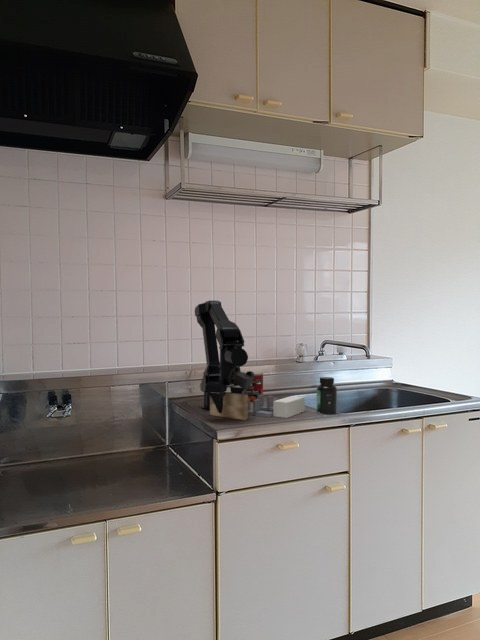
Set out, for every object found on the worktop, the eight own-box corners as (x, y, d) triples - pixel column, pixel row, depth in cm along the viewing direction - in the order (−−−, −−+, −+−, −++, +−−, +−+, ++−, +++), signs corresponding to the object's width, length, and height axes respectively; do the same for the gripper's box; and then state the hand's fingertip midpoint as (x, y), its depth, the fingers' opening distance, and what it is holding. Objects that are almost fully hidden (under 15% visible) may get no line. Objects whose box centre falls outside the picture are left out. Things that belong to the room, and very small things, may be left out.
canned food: (241, 401, 194) (241, 373, 193) (246, 398, 201) (246, 371, 201) (260, 402, 192) (260, 373, 192) (264, 399, 200) (264, 371, 199)
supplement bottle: (316, 414, 170) (317, 378, 169) (316, 410, 176) (316, 376, 176) (337, 414, 169) (337, 379, 169) (336, 410, 176) (336, 376, 175)
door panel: (209, 415, 168) (209, 391, 168) (213, 414, 170) (213, 390, 170) (244, 420, 161) (244, 395, 160) (247, 419, 162) (247, 394, 162)
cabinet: (243, 413, 170) (243, 399, 170) (266, 406, 183) (266, 393, 183) (282, 419, 161) (282, 403, 161) (304, 411, 174) (304, 397, 174)
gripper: (232, 367, 153) (232, 418, 153) (263, 362, 168) (263, 408, 169) (203, 365, 159) (203, 414, 159) (236, 360, 175) (236, 405, 175)
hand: (228, 410), depth 165 cm, fingers open, 9 cm apart
